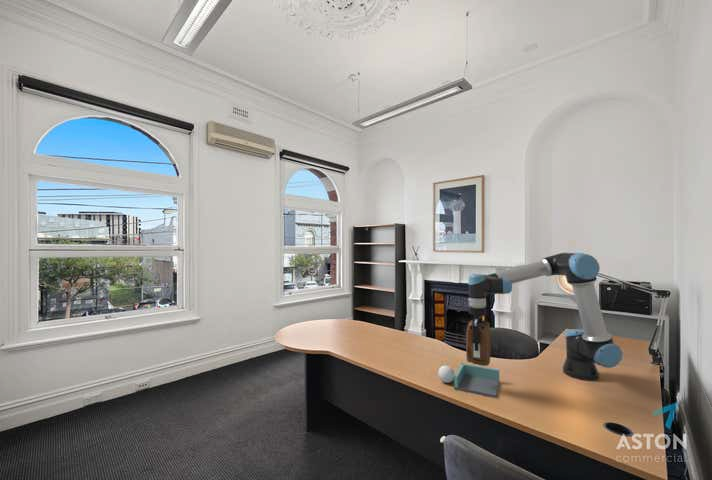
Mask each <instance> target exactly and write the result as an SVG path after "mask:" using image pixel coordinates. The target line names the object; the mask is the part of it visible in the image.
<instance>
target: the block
mask: <svg viewBox="0 0 712 480" xmlns="http://www.w3.org/2000/svg"><path fill="white" fill-rule="evenodd" d="M472 322H473V319H472V320H470V321H469V323H468V324H467V327H466V332H465V334H466V336H465V342H466V345H465V349H466V350H465V351H466V352H465V353H466V355H465V357H466V361H467V362H468V363H470V364H471V363H472V365H473V364H474V365H476V366H481V367H488V366H489V365H490V363H491V354H492V352H491V350H492V347H491V325H490V324H491V323H490V322H489V321H487V320H483V321H482V323H479V342H480V358H477V357H474V344H473V343H472V342H473V323H472ZM475 341H476V340H475Z"/></svg>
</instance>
